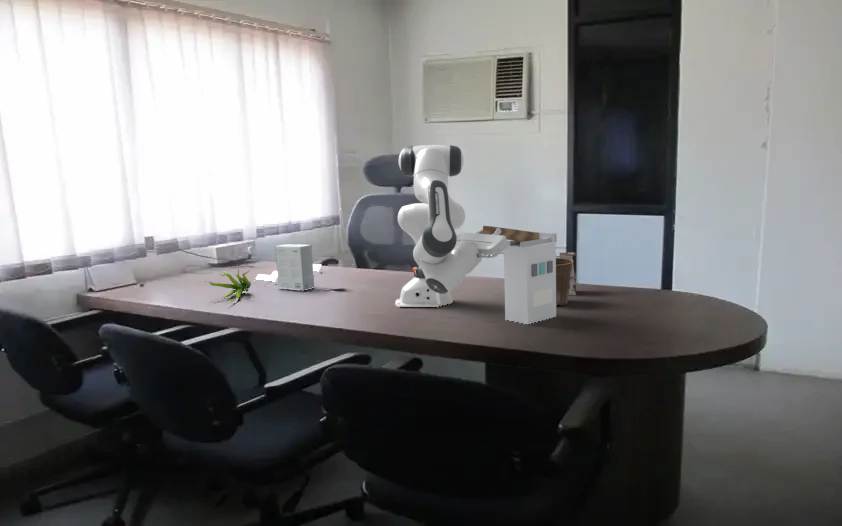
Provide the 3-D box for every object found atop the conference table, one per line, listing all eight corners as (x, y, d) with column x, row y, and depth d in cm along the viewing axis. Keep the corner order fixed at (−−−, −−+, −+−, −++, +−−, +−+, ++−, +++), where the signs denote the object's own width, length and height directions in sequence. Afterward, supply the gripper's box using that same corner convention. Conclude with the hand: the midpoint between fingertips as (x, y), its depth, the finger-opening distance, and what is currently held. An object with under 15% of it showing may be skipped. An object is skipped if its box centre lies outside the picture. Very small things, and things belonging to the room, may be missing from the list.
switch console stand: (528, 325, 221) (527, 238, 216) (505, 320, 229) (503, 236, 224) (558, 316, 231) (557, 233, 226) (534, 312, 239) (533, 231, 234)
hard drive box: (315, 288, 299) (312, 244, 296) (303, 292, 293) (300, 247, 289) (289, 286, 307) (286, 243, 304) (277, 289, 301) (274, 245, 298)
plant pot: (570, 308, 241) (570, 265, 239) (526, 307, 247) (525, 264, 245) (576, 299, 256) (576, 258, 254) (534, 297, 262) (533, 257, 260)
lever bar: (490, 237, 210) (491, 226, 210) (482, 236, 213) (483, 225, 213) (538, 243, 226) (539, 232, 226) (530, 242, 228) (531, 232, 228)
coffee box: (576, 295, 264) (576, 255, 261) (559, 295, 265) (559, 255, 262) (575, 290, 272) (575, 251, 270) (559, 290, 274) (559, 251, 271)
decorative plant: (192, 307, 271) (189, 271, 269) (241, 292, 297) (238, 260, 295) (227, 310, 263) (224, 273, 261) (273, 294, 290) (271, 261, 288)
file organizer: (252, 285, 318) (251, 274, 317) (302, 272, 347) (302, 263, 346) (272, 287, 311) (271, 276, 310) (322, 274, 340) (321, 264, 339)
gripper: (488, 249, 197) (514, 222, 204) (441, 244, 213) (467, 220, 219) (495, 266, 200) (521, 239, 207) (449, 260, 216) (474, 235, 222)
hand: (493, 229), depth 213 cm, fingers closed on lever bar, 3 cm apart
